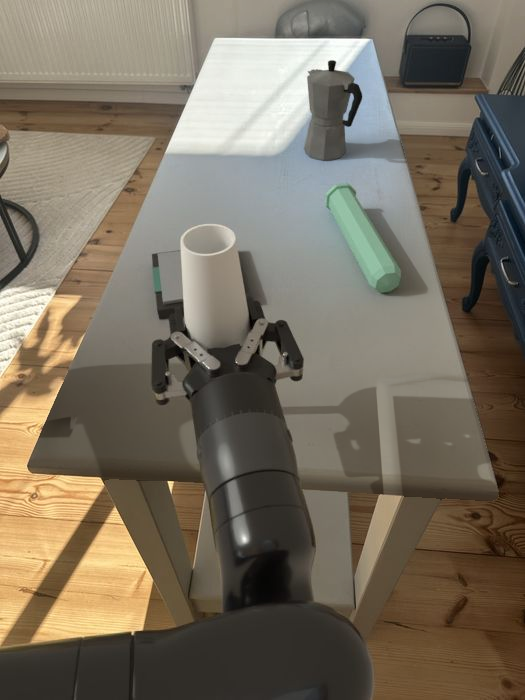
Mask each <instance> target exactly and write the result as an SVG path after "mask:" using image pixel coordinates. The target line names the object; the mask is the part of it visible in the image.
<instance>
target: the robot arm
mask: <svg viewBox="0 0 525 700" xmlns="http://www.w3.org/2000/svg"><path fill="white" fill-rule="evenodd" d="M246 301H247V307H248V313H249V319H250V325H251V332H249V333H248V335H247V338H246V340H245V342H244V344H243V346H240V344H235V345H230V346H228V347H225V348H210V349H207V352H206V351H205V350H204V349H203V348H202V347H201V346H200V345H199V344H197V343H196V342H195V341H193V342H192V341H190V340H189V339H188V338H187V337H186V334H185V320H184V315H182V309H181V307H180V308H174V310H175V313H173V314H170V316H169V318H168V323H169V333H170V335H169V337H168V338H167V339H164V340H163V339H160V338H159V339H155V340H153V341H152V343H151V375H150V376H151V379H150V380H151V382H150V383H151V388H152V392H153V395H154V398H155V399H154V400H155V402H156V404H157V405H158V406H166V405H168V403H169V402H170V400H171V399H172V398H180V397H181V398H182V397H185V398H186V400H188V401H189V403H190V407H191V413H192V420H193V421H192V422H193V429H194V436H195V442H196V443H195V444H196V458H197V461H198V463H199V464H198V465H199V470H200V477H201V481H202V484H203V487H204V491H205V495H206V500H207V503H208V510H209V517H210V522H211V530H212V537H213V543H214V549H215V554H216V557H217V558H216V559H217V562H218V568H219V575H220V587H221V588H220V589H221V613H219V614H214V615H211V616H207V617H203V618H200V619H196V620H194V621H191V622H188V623H185V624H181V625H178V626H174V627H170V628H164V629H141V630H133V632H132V631H120V632H113V633H103V634H93V635H84V636H77V637H67V638H60V639H59V638H58V639H51V640H45V641H44V640H43V641H37V642H28V643H27V642H26V643H20V644H12V645H5V646H0V700H373V698H374V690H375V670H374V663H373V659H372V655H371V652H370V649H369V647H368V644H367V642H366V640H365V639H364V636H363V635H362V633H361V632H360V630H359V629H358V627H357V626H356V625H355V624H354V623H353V622H352V621H351V620H350V619H349V618H347V616H345V615H344V614H343V613H342V612H340V611H339V610H337V609H335V608H334V607H332V606H330V605H328V604H325V603H321V602H318V601H315V597H314V593H313V586H312V570H313V565H314V561H315V558H316V551H317V541H316V534H315V529H314V524H313V521H312V518H311V514H310V510H309V507H308V504H307V500H306V498H305V493H304V491H303V487H302V484H301V479H300V476H299V468H298V461H297V455H296V452H295V448H294V445H293V437H292V434H291V431H290V429H289V428H288V424H287V422H286V418H285V415H284V411H283V408H282V405H281V400H280V398H279V394H278V391H277V387H276V383H277V381H278V380H283V379H287V378H289V379H290V380H291V381H293V382H299V381H301V380H302V379H303V374H304V363H305V362H304V361H305V359H304V356H303V354H302V351H301V350H300V348H299V345H298V343H297V341H296V339H295V337H294V334H293V333H292V330H291V328H290V326H289V324H288V322H287V321H286V320H284V319H279V320H276V321H275V322H269V321H268V320H267V319H266V316H265V313H264V310H263V307H262V304H261V302H260V301H259V300H254V298H253V296H252V297H246ZM268 342H272V343H274V344H275V345H276V348H277V350H278V353H279V357H278V363H277V364H276V365H275V364H273V363H272V362H271V361H270V360H268V359H266V358H265V357H263V355H264V351H265V350H266V347H267V344H268ZM175 357H176V358H177V359H178V361H180V362H181V363H182V364H183V365H184V366H185V368H186V370H187V371H188V372H187V374H186V375H185V376H184V378H183V380H182V381H179V380H177V378H176V375H175V374H174V373H171V371H170V360H172V359H174V358H175Z"/></svg>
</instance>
